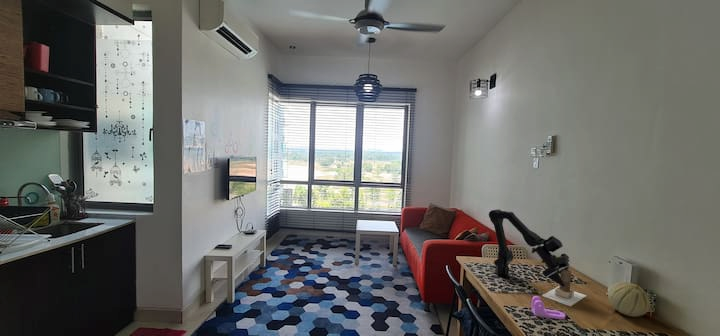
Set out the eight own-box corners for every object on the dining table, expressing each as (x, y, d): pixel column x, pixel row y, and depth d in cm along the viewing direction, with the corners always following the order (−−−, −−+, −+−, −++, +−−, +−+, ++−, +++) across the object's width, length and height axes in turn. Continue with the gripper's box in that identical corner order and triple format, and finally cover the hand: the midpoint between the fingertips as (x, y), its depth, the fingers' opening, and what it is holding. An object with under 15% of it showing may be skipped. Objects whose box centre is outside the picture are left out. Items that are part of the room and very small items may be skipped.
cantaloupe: (607, 303, 155) (609, 273, 154) (647, 313, 145) (649, 282, 145) (606, 314, 143) (609, 283, 142) (650, 326, 134) (653, 293, 133)
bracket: (534, 315, 142) (535, 300, 141) (531, 309, 147) (532, 295, 146) (567, 320, 138) (568, 305, 137) (562, 314, 143) (563, 299, 143)
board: (570, 308, 149) (570, 306, 148) (541, 297, 159) (541, 295, 159) (586, 297, 160) (586, 295, 160) (558, 287, 171) (558, 286, 171)
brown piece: (567, 299, 155) (569, 274, 154) (554, 294, 160) (556, 270, 159) (573, 296, 159) (575, 271, 158) (560, 291, 164) (562, 267, 163)
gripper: (550, 252, 156) (574, 281, 148) (566, 246, 167) (589, 273, 158) (533, 262, 163) (555, 291, 155) (549, 256, 174) (570, 282, 165)
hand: (568, 284), depth 158 cm, fingers open, 9 cm apart
